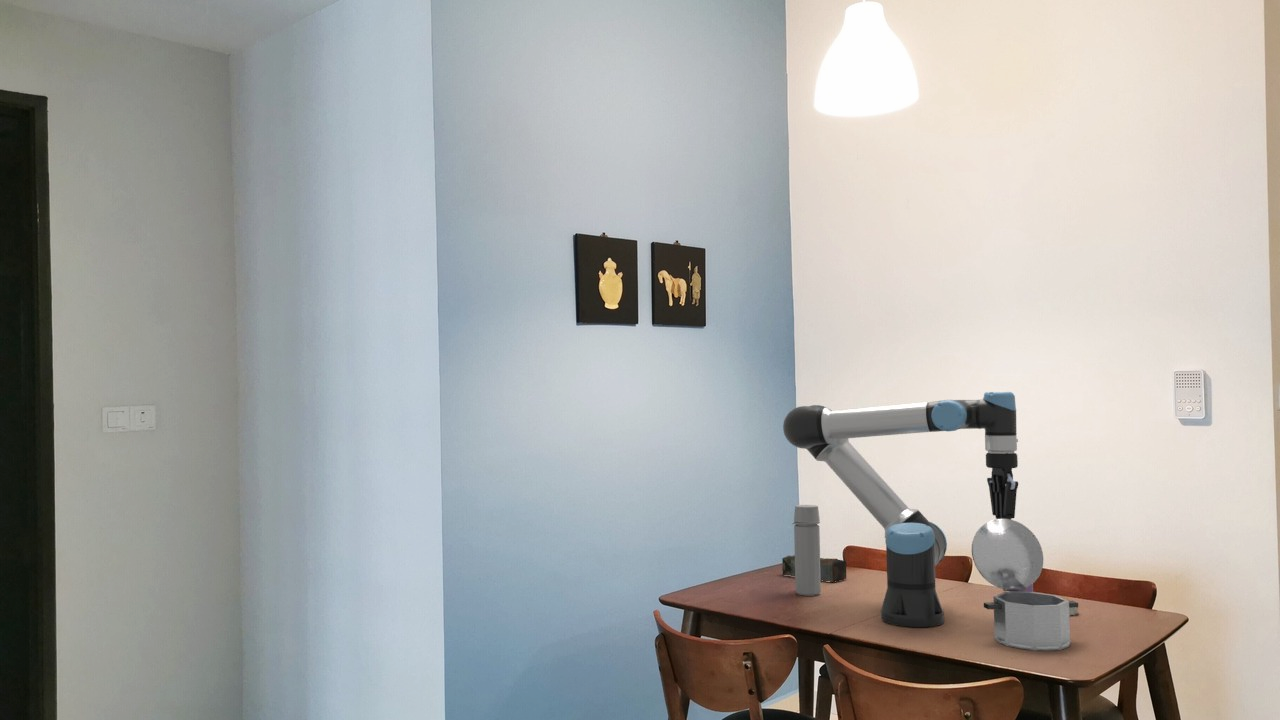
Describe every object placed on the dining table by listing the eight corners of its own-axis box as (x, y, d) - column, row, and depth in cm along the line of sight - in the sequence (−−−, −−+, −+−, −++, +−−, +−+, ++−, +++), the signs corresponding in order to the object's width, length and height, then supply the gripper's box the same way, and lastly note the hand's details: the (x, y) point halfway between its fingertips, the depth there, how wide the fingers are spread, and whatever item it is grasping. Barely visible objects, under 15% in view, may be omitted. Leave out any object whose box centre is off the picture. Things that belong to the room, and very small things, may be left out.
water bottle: (827, 595, 257) (825, 506, 259) (803, 597, 254) (801, 508, 256) (809, 589, 266) (807, 503, 267) (786, 591, 263) (784, 504, 264)
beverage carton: (795, 573, 292) (795, 552, 293) (848, 580, 279) (847, 559, 280) (781, 576, 287) (781, 555, 287) (834, 584, 273) (834, 562, 274)
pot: (1002, 652, 198) (1000, 607, 198) (971, 633, 214) (970, 592, 214) (1095, 649, 199) (1093, 605, 199) (1058, 631, 215) (1056, 590, 215)
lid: (968, 518, 220) (963, 521, 223) (980, 591, 214) (974, 593, 217) (1037, 517, 221) (1031, 520, 224) (1050, 589, 214) (1044, 591, 217)
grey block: (1060, 608, 239) (1059, 592, 239) (1083, 615, 230) (1083, 599, 231) (1032, 610, 237) (1032, 594, 237) (1055, 617, 228) (1055, 601, 229)
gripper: (1027, 453, 225) (1030, 549, 224) (1004, 450, 238) (1007, 541, 237) (998, 453, 224) (1001, 550, 223) (976, 451, 237) (979, 541, 236)
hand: (1004, 545), depth 230 cm, fingers closed
